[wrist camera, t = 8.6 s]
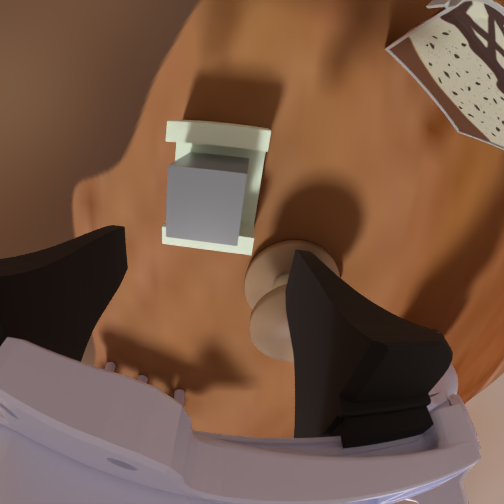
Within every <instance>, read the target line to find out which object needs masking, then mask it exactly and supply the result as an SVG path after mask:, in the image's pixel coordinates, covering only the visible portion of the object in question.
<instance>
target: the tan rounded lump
mask: <svg viewBox="0 0 504 504" xmlns="http://www.w3.org/2000/svg"><path fill="white" fill-rule="evenodd" d="M295 249H297V250H304V251H310V252H312V253H313V254H314V255H315V256H317V257H318V258H319V259H320V260H321V261H322V262H323V263H324V264H325V265H326V266H327V267H328V268H330V269H331V270H332V271H333V272H334V273H335V274H336V275H337V276H338V277H340V273H339V270H338V268H337V266H336V264H335V262H334V260H333V258H332V257H331V255H330V254H329V253H328V252H327V251H326V250H325V249H324V248H322V247H321V246H319V245H317V244H315V243H312V242H309V241H304V240H286V241H281V242H278V243H275V244H273V245H270V246H268V247H267V248H265V249H264V250H262V251H261V252H260V253H259V254H257V255H256V256H255V258H254V259H253V260H252V261H251V263H250V265H249V267H248V269H247V272H246V276H245V296H246V299H247V302H248V304H249V305H250V307H251V308H252V309H253V310H252V312H251V316H250V337H251V340H252V342H253V343H254V345H255V346H256V347H257V348H258V349H259V350H260V351H261V352H262V353H263V354H265V355H267V356H269V357H271V358H274V359H277V360H282V361H294V355H293V349H292V343H291V337H290V331H289V326H288V320H287V314H286V299H285V290H286V286H287V282H288V278H289V274H290V270H291V266H292V262H293V258H294V254H295Z"/></svg>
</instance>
